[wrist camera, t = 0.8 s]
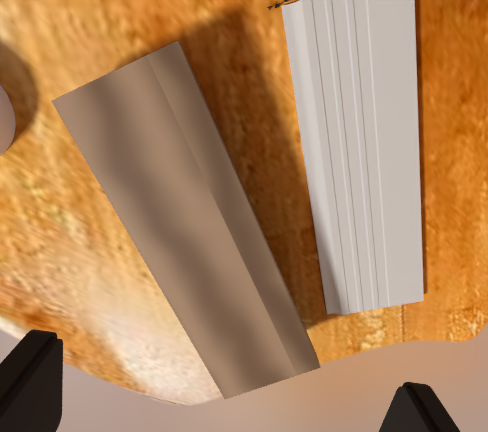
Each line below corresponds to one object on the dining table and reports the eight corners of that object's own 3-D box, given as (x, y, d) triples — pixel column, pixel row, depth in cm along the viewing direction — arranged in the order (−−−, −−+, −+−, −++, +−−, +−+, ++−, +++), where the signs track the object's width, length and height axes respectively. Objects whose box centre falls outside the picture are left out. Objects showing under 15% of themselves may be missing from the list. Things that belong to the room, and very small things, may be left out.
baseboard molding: (312, 311, 39) (416, 292, 39) (318, 328, 36) (430, 307, 36) (263, 11, 29) (404, -22, 28) (266, 2, 26) (422, -35, 25)
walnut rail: (188, 50, 29) (177, 40, 24) (309, 331, 39) (320, 367, 34) (83, 99, 30) (51, 100, 25) (226, 360, 40) (225, 399, 35)
